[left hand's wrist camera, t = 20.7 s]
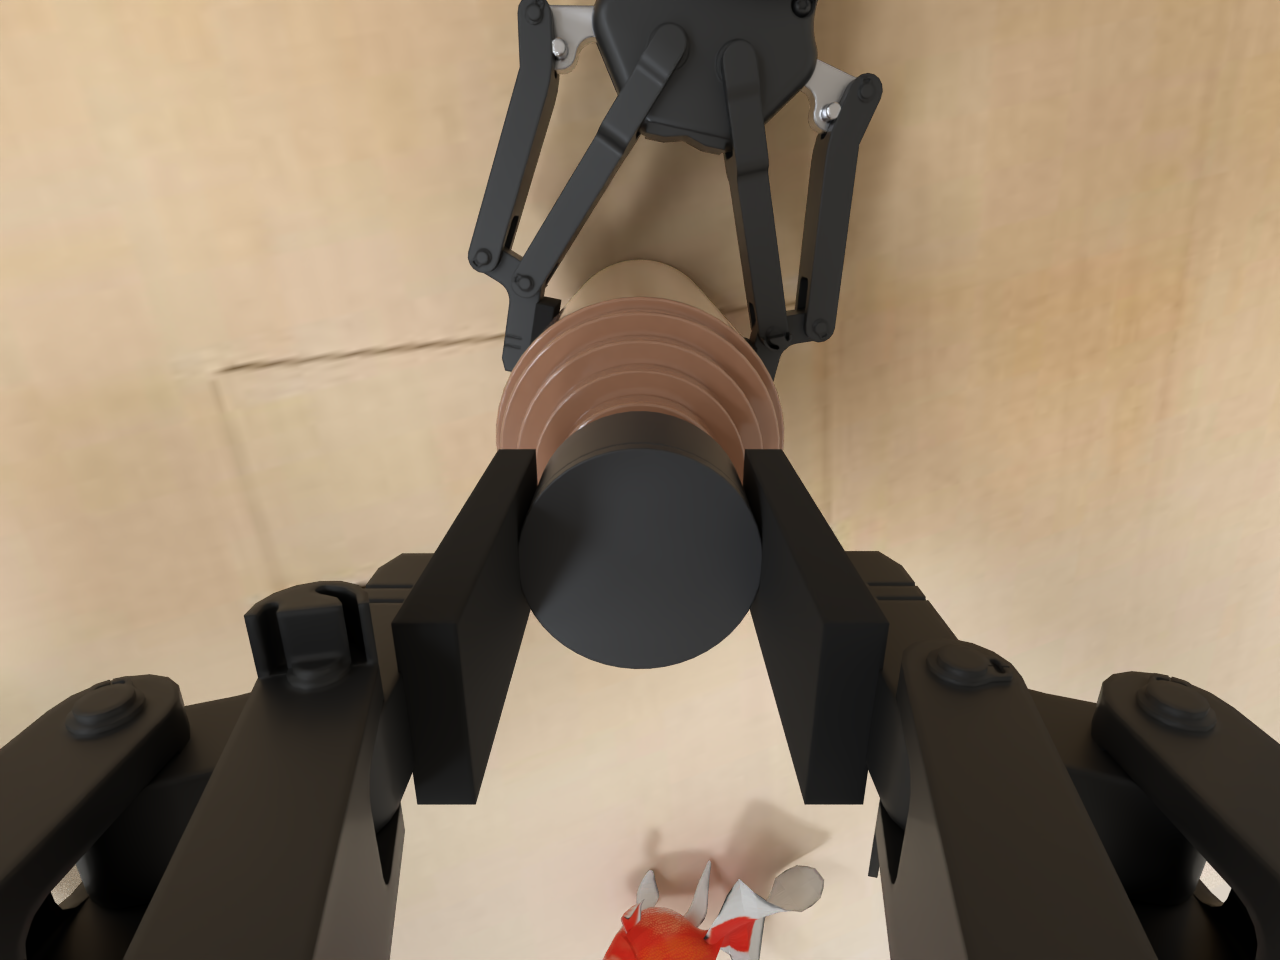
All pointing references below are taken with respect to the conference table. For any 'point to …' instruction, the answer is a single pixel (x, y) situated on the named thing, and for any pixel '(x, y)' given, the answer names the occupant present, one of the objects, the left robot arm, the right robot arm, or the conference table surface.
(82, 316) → the conference table surface
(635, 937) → the fish
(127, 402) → the conference table surface
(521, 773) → the conference table surface
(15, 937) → the left robot arm
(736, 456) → the bottle
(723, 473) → the cap
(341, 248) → the conference table surface
